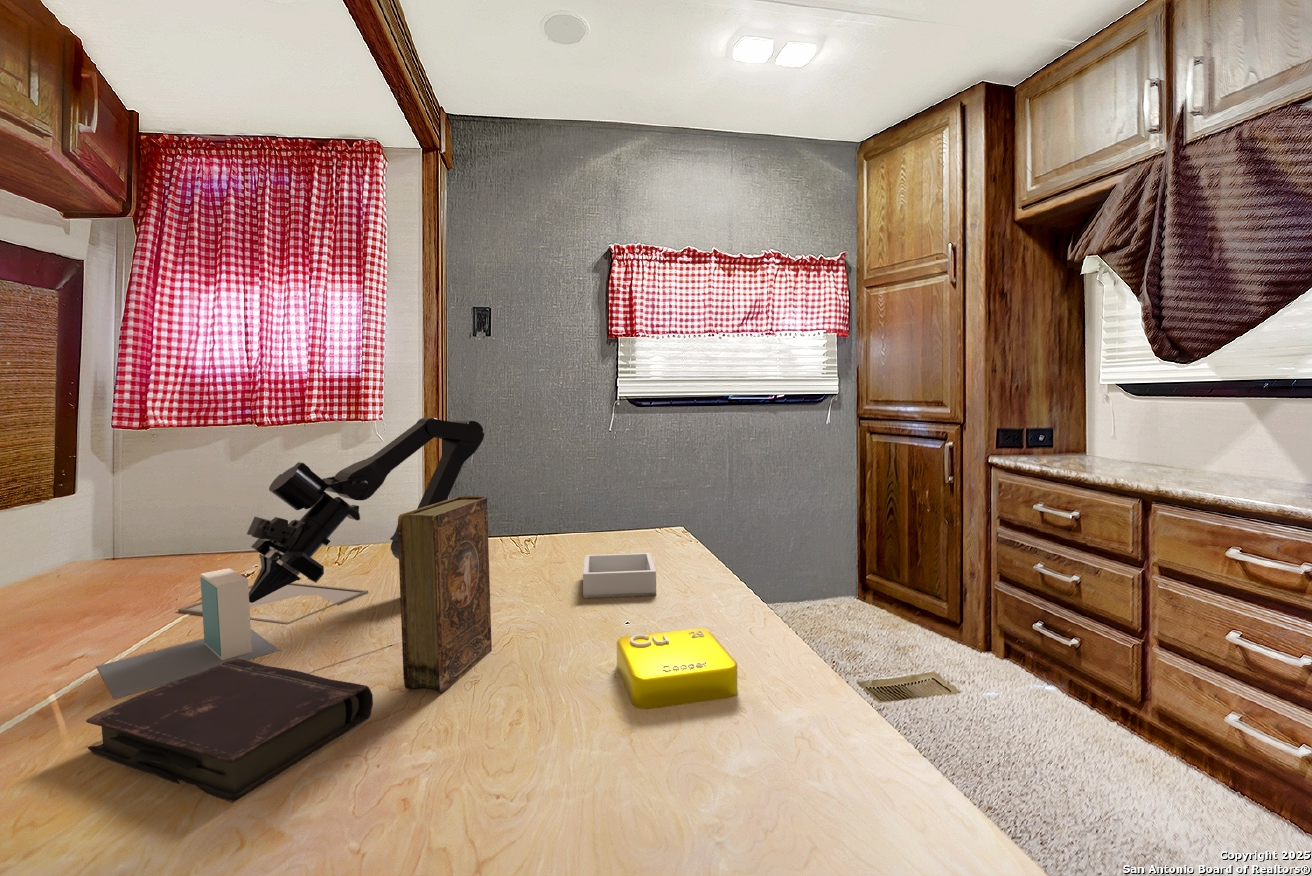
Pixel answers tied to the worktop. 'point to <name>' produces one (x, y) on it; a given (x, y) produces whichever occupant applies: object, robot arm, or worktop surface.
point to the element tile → (675, 668)
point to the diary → (230, 725)
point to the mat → (169, 665)
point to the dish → (619, 575)
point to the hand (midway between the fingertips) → (248, 601)
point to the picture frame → (293, 590)
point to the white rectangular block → (226, 613)
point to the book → (444, 591)
